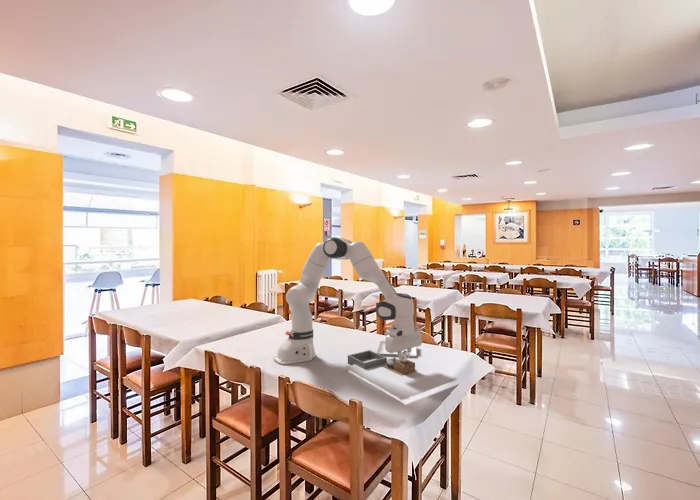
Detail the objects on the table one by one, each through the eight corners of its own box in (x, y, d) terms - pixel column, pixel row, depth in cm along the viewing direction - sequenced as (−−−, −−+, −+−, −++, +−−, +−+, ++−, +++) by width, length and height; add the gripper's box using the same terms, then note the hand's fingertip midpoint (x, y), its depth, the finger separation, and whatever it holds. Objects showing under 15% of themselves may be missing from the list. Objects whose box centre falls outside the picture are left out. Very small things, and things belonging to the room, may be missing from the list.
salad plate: (416, 361, 173) (416, 355, 173) (375, 359, 177) (375, 352, 177) (416, 348, 194) (416, 342, 194) (380, 346, 198) (380, 340, 198)
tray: (364, 372, 159) (364, 363, 159) (347, 363, 171) (347, 355, 170) (386, 365, 167) (386, 357, 167) (369, 357, 178) (369, 350, 178)
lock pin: (404, 371, 155) (404, 352, 155) (400, 370, 157) (400, 351, 156) (407, 370, 156) (407, 351, 156) (404, 368, 158) (404, 350, 158)
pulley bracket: (401, 378, 151) (401, 366, 151) (381, 368, 163) (381, 357, 162) (417, 373, 156) (417, 362, 156) (396, 364, 168) (396, 353, 168)
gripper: (415, 324, 164) (415, 352, 165) (383, 330, 153) (383, 360, 153) (424, 327, 159) (424, 355, 160) (392, 334, 148) (392, 365, 148)
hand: (404, 358), depth 156 cm, fingers closed on lock pin, 2 cm apart
